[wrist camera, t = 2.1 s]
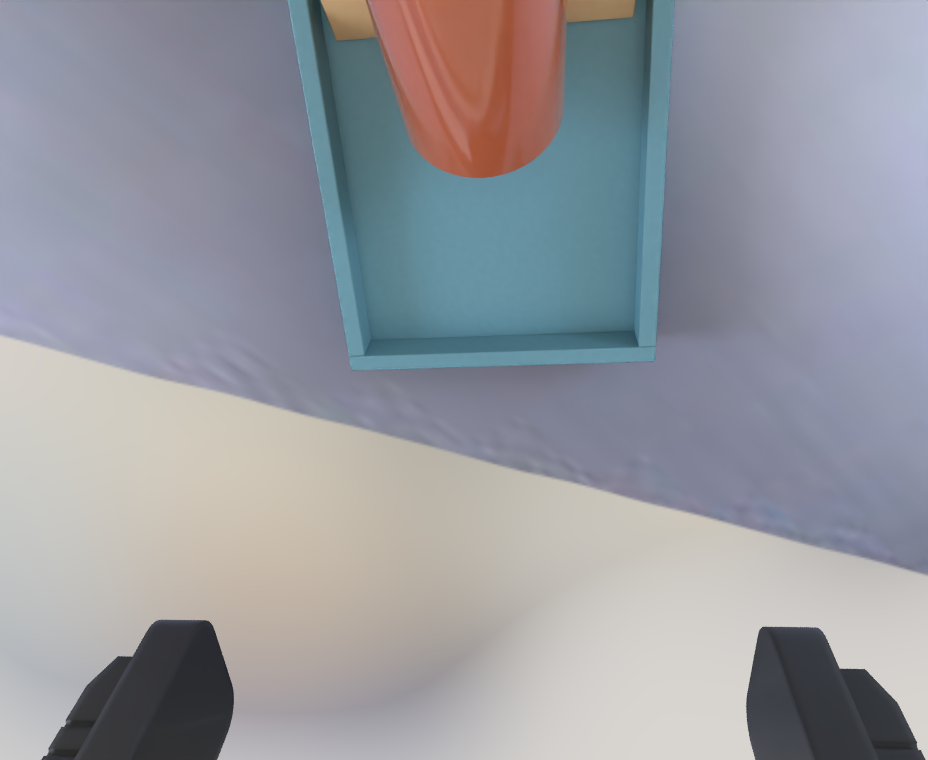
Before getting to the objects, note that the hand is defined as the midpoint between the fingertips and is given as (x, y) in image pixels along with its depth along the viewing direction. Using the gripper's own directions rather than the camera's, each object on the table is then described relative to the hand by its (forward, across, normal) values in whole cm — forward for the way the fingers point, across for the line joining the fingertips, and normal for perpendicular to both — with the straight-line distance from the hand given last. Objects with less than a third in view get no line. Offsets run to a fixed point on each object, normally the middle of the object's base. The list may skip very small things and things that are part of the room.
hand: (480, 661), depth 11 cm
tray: (+26, -1, +5) cm, 27 cm away
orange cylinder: (+26, -1, +7) cm, 27 cm away
